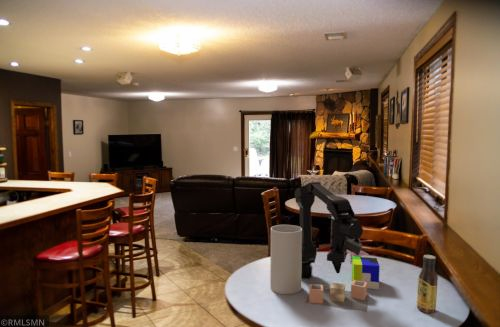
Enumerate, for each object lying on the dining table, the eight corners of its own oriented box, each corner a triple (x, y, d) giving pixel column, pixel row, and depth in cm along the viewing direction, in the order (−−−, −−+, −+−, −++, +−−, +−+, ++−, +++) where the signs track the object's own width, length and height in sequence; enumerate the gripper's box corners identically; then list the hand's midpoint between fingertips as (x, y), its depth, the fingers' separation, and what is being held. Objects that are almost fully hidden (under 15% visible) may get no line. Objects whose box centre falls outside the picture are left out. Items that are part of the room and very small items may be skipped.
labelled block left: (309, 302, 141) (309, 288, 140) (309, 296, 146) (309, 283, 145) (322, 303, 140) (323, 289, 140) (322, 297, 145) (322, 284, 145)
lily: (370, 268, 181) (372, 248, 185) (350, 261, 177) (353, 241, 181) (353, 267, 192) (356, 249, 195) (335, 261, 188) (338, 242, 191)
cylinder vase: (303, 285, 158) (304, 226, 156) (297, 297, 146) (298, 233, 144) (275, 281, 162) (275, 223, 160) (266, 292, 150) (266, 231, 148)
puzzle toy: (378, 290, 153) (379, 266, 152) (353, 288, 155) (353, 264, 154) (375, 280, 163) (376, 258, 162) (351, 278, 165) (352, 256, 164)
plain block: (330, 300, 143) (330, 287, 142) (331, 295, 147) (332, 282, 147) (343, 302, 141) (343, 289, 141) (344, 296, 146) (345, 284, 145)
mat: (305, 303, 141) (305, 302, 141) (312, 287, 156) (312, 286, 156) (366, 313, 133) (366, 311, 133) (368, 294, 148) (368, 293, 148)
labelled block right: (350, 297, 145) (351, 284, 145) (353, 292, 150) (354, 279, 149) (364, 300, 143) (364, 286, 143) (366, 295, 147) (367, 282, 147)
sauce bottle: (413, 306, 139) (415, 253, 137) (429, 305, 139) (431, 252, 138) (422, 314, 132) (425, 259, 131) (440, 314, 133) (442, 258, 131)
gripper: (359, 241, 131) (358, 285, 132) (362, 228, 148) (361, 267, 149) (327, 238, 134) (326, 280, 136) (333, 225, 152) (333, 263, 153)
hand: (338, 272), depth 143 cm, fingers closed
